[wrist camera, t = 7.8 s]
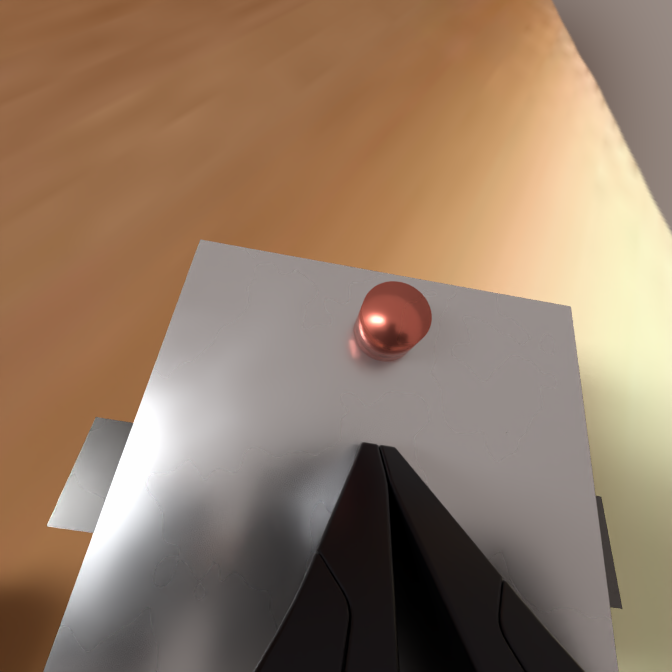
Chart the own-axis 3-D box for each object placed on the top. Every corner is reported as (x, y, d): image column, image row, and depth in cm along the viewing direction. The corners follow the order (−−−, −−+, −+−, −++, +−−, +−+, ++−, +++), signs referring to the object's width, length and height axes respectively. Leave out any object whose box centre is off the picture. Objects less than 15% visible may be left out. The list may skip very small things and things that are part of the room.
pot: (531, 708, 12) (676, 856, 7) (80, 650, 11) (-71, 771, 7) (504, 397, 17) (581, 368, 12) (191, 344, 16) (148, 293, 12)
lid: (596, 870, 7) (763, 1110, 4) (26, 808, 6) (-151, 1035, 4) (544, 320, 11) (610, 285, 9) (211, 261, 11) (184, 206, 8)
